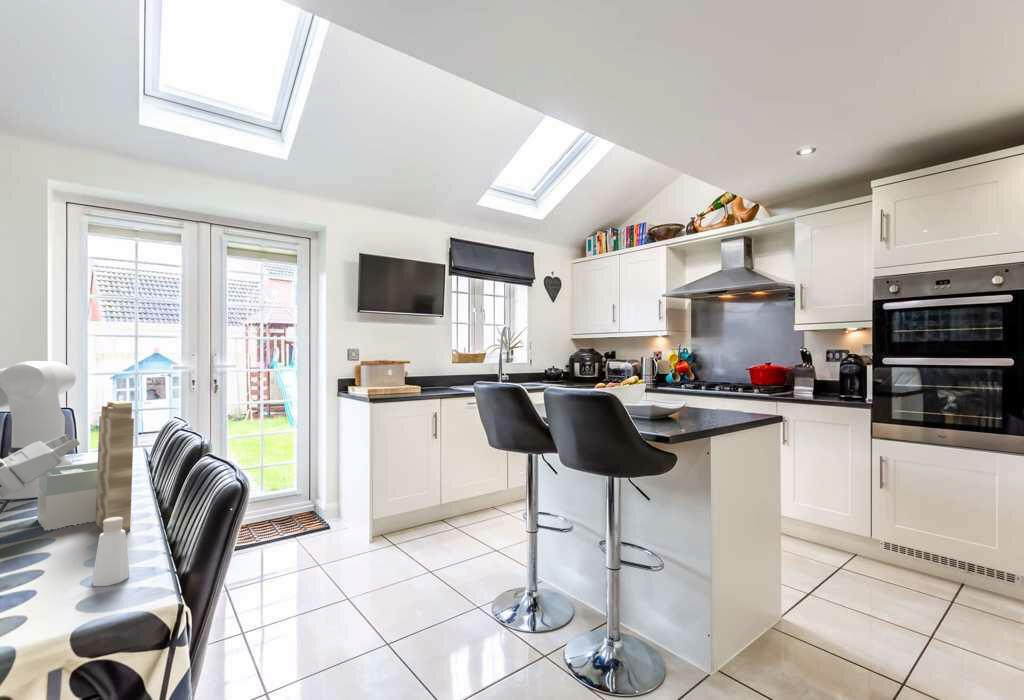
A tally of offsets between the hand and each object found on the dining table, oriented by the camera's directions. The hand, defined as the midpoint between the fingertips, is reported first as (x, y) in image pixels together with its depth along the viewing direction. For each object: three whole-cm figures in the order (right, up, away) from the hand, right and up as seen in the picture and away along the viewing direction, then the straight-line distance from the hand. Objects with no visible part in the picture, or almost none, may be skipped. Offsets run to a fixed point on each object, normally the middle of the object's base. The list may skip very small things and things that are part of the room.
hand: (73, 438), depth 117 cm
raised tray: (+1, -20, +1) cm, 20 cm away
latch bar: (+2, -12, +2) cm, 12 cm away
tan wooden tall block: (+14, -20, -5) cm, 25 cm away
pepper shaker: (+36, -20, -32) cm, 52 cm away
